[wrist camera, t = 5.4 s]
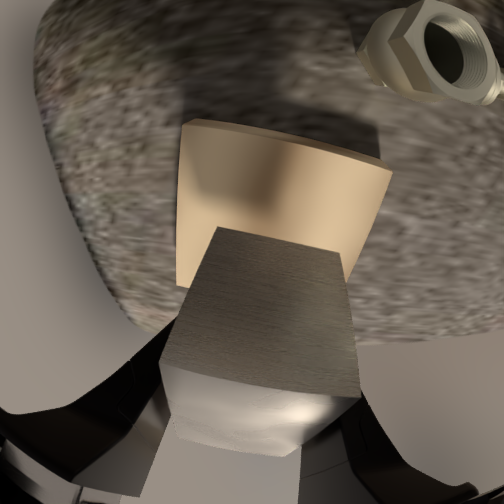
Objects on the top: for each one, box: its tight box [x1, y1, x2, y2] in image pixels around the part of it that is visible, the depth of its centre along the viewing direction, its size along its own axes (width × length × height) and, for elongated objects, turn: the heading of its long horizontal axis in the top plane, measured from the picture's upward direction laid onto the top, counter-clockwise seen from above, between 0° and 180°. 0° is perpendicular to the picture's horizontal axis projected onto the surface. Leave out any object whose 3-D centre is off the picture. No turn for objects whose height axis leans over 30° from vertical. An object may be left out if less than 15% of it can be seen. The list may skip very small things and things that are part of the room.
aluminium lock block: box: [159, 226, 361, 457], centre depth 8 cm, size 4×6×5 cm, turn 170°
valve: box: [356, 0, 504, 106], centre depth 7 cm, size 7×7×12 cm
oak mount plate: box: [176, 118, 393, 288], centre depth 15 cm, size 10×10×2 cm
